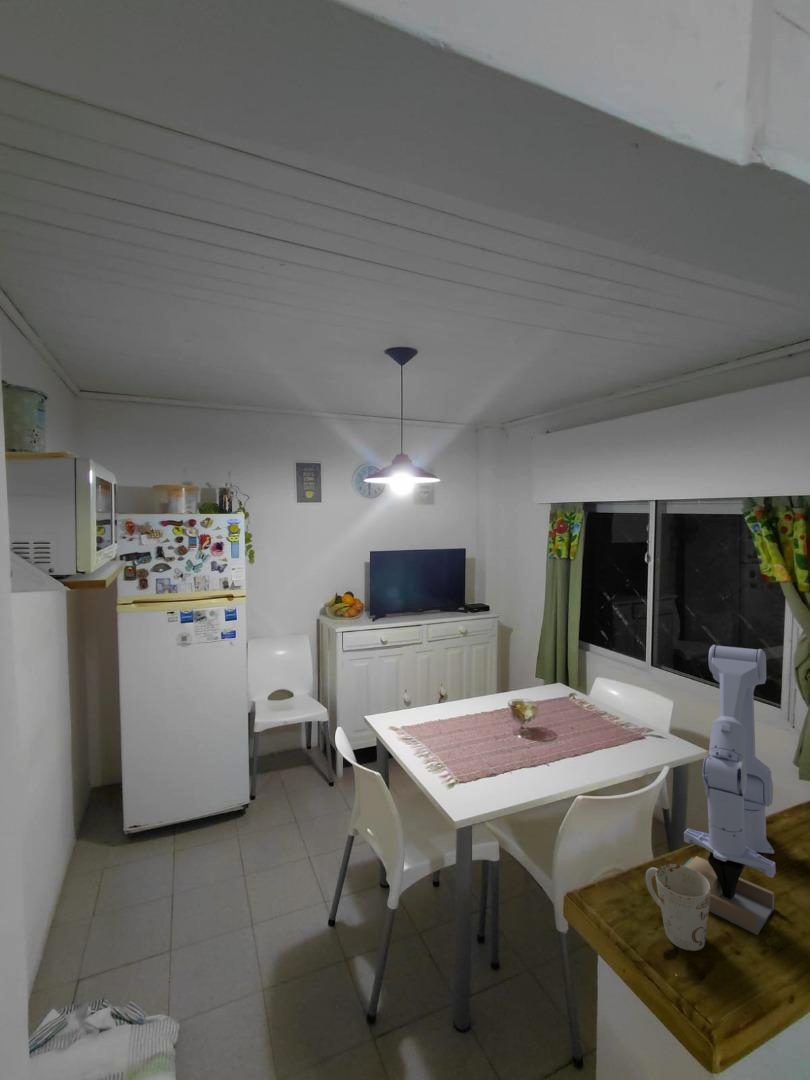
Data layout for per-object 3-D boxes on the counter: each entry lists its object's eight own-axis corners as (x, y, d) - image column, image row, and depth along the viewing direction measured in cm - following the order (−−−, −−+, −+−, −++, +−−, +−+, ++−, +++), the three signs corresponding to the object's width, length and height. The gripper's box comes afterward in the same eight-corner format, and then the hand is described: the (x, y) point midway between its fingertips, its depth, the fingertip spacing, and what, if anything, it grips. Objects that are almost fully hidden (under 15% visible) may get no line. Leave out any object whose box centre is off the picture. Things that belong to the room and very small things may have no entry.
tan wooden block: (684, 889, 99) (683, 869, 99) (697, 875, 103) (696, 855, 103) (714, 904, 95) (713, 882, 95) (726, 888, 99) (725, 868, 99)
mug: (688, 964, 83) (686, 903, 83) (628, 912, 95) (626, 858, 95) (724, 946, 87) (722, 887, 86) (661, 897, 98) (659, 846, 98)
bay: (672, 892, 99) (672, 877, 99) (692, 871, 105) (692, 856, 105) (757, 935, 88) (756, 917, 88) (774, 908, 94) (773, 892, 94)
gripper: (675, 815, 99) (678, 885, 99) (765, 850, 87) (767, 929, 88) (691, 801, 103) (694, 869, 103) (778, 832, 92) (781, 908, 92)
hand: (729, 895), depth 96 cm, fingers closed
